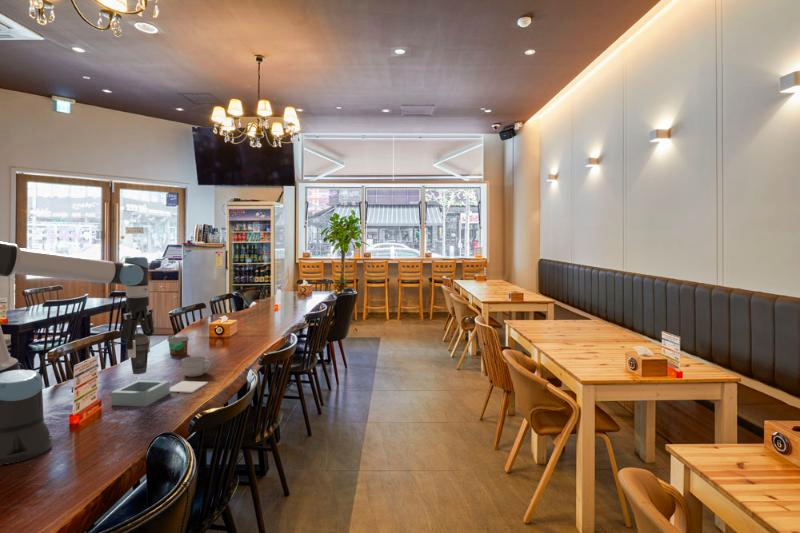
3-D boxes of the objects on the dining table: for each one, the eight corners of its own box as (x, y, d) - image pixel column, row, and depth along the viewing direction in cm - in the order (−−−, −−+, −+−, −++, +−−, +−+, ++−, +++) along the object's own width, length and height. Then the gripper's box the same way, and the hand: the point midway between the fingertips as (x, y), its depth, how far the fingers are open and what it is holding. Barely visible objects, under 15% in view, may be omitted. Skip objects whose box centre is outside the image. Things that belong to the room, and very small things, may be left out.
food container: (162, 355, 229) (161, 337, 229) (171, 352, 235) (170, 334, 235) (180, 357, 226) (179, 338, 225) (189, 354, 232) (188, 336, 231)
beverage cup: (140, 376, 161) (138, 324, 160) (123, 374, 162) (122, 323, 161) (154, 370, 168) (153, 320, 167) (139, 369, 170) (137, 320, 169)
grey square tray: (145, 406, 159) (145, 393, 158) (111, 405, 160) (110, 392, 160) (169, 393, 173) (169, 381, 172) (137, 392, 174) (137, 380, 174)
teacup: (177, 376, 194) (176, 359, 194) (198, 370, 204) (197, 353, 203) (197, 381, 188) (196, 363, 187) (217, 374, 197) (217, 357, 197)
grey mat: (192, 393, 173) (191, 391, 173) (164, 392, 174) (164, 390, 174) (208, 383, 185) (208, 381, 185) (182, 382, 186) (182, 380, 186)
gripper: (127, 299, 153) (129, 362, 155) (163, 293, 173) (164, 348, 175) (108, 299, 154) (110, 361, 155) (146, 293, 174) (147, 348, 175)
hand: (139, 354), depth 165 cm, fingers closed on beverage cup, 7 cm apart
